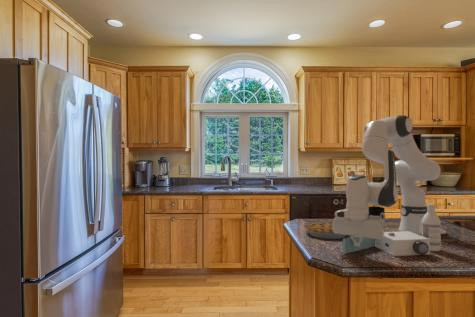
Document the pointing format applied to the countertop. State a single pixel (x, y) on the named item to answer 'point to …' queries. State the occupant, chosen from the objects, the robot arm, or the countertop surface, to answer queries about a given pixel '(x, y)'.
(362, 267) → the countertop surface
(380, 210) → the grey mug
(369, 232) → the robot arm
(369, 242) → the side door
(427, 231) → the bath foam
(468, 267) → the countertop surface
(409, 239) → the knobbed cream box
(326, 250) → the countertop surface
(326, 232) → the pie
